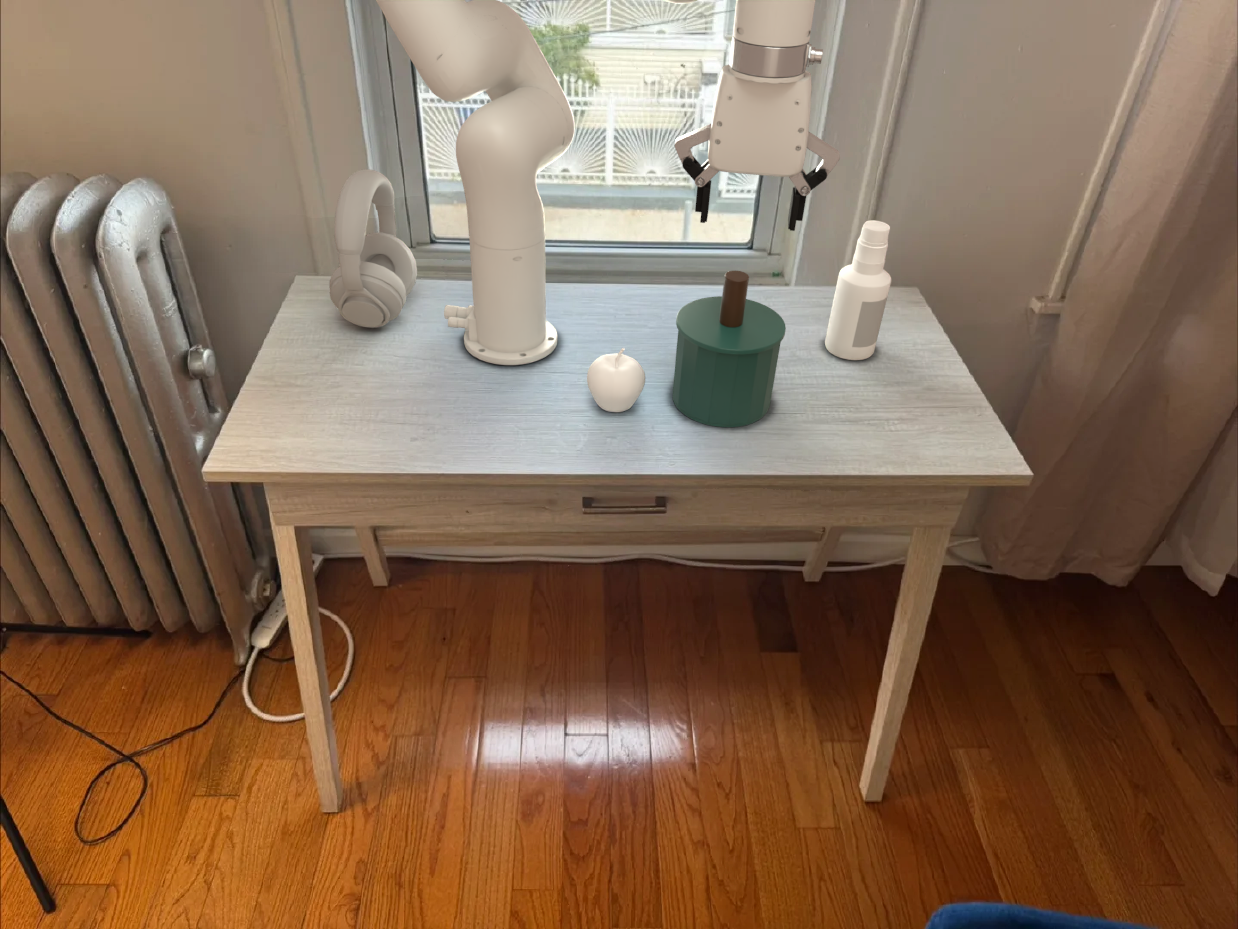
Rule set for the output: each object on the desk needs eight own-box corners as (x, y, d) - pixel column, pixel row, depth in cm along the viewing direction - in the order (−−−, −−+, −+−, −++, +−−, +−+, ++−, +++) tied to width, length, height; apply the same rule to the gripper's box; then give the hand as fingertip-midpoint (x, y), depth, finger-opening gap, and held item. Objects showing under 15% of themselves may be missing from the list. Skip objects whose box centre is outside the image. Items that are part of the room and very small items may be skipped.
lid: (670, 352, 106) (675, 295, 101) (680, 299, 116) (685, 246, 111) (784, 364, 105) (794, 308, 100) (784, 310, 115) (793, 257, 110)
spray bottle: (874, 364, 125) (905, 239, 114) (823, 357, 126) (849, 232, 114) (873, 339, 130) (903, 218, 119) (824, 333, 131) (849, 211, 120)
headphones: (398, 349, 123) (381, 204, 110) (322, 344, 123) (296, 199, 111) (429, 285, 137) (417, 151, 125) (361, 280, 137) (342, 147, 125)
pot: (668, 421, 112) (675, 346, 106) (677, 368, 122) (683, 297, 115) (768, 432, 111) (781, 357, 105) (769, 378, 121) (781, 307, 114)
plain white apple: (640, 423, 111) (643, 366, 107) (582, 416, 112) (583, 360, 107) (646, 391, 117) (650, 336, 112) (591, 385, 118) (592, 330, 113)
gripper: (853, 54, 94) (824, 215, 104) (684, 42, 95) (672, 202, 106) (859, 74, 88) (827, 243, 98) (678, 61, 89) (666, 228, 100)
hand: (747, 221), depth 102 cm, fingers open, 9 cm apart
